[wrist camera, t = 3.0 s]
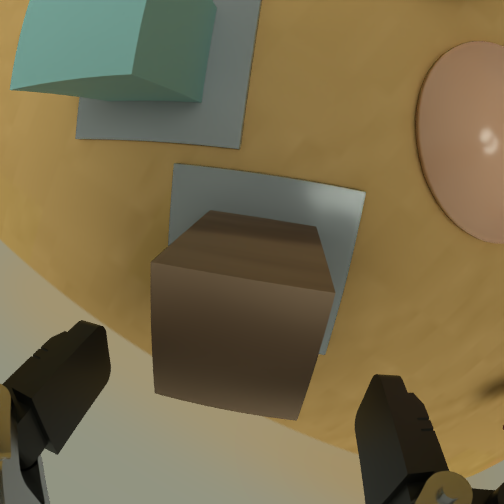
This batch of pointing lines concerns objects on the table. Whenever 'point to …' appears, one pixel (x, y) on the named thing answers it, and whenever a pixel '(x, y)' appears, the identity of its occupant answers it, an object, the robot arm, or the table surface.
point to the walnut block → (240, 314)
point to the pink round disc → (465, 137)
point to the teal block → (115, 49)
